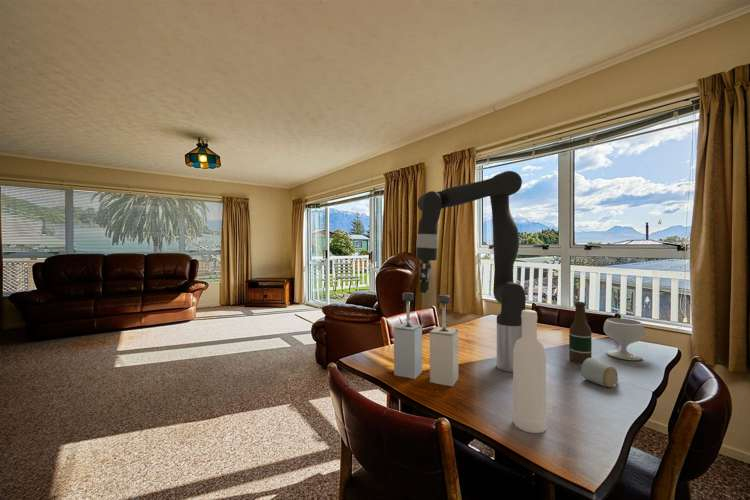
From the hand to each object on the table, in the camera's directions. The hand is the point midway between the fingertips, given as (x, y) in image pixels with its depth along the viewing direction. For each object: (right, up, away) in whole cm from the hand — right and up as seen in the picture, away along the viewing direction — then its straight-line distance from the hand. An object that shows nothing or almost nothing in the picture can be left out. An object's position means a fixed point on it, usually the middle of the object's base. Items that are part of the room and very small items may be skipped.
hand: (424, 291), depth 116 cm
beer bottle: (+66, -30, +14) cm, 74 cm away
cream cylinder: (+60, -31, -7) cm, 68 cm away
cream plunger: (+6, -16, -4) cm, 17 cm away
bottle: (+23, -31, -33) cm, 50 cm away
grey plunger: (-6, -16, +2) cm, 17 cm away
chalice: (+88, -30, +19) cm, 95 cm away
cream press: (+6, -31, -4) cm, 32 cm away
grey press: (-6, -31, +2) cm, 31 cm away
